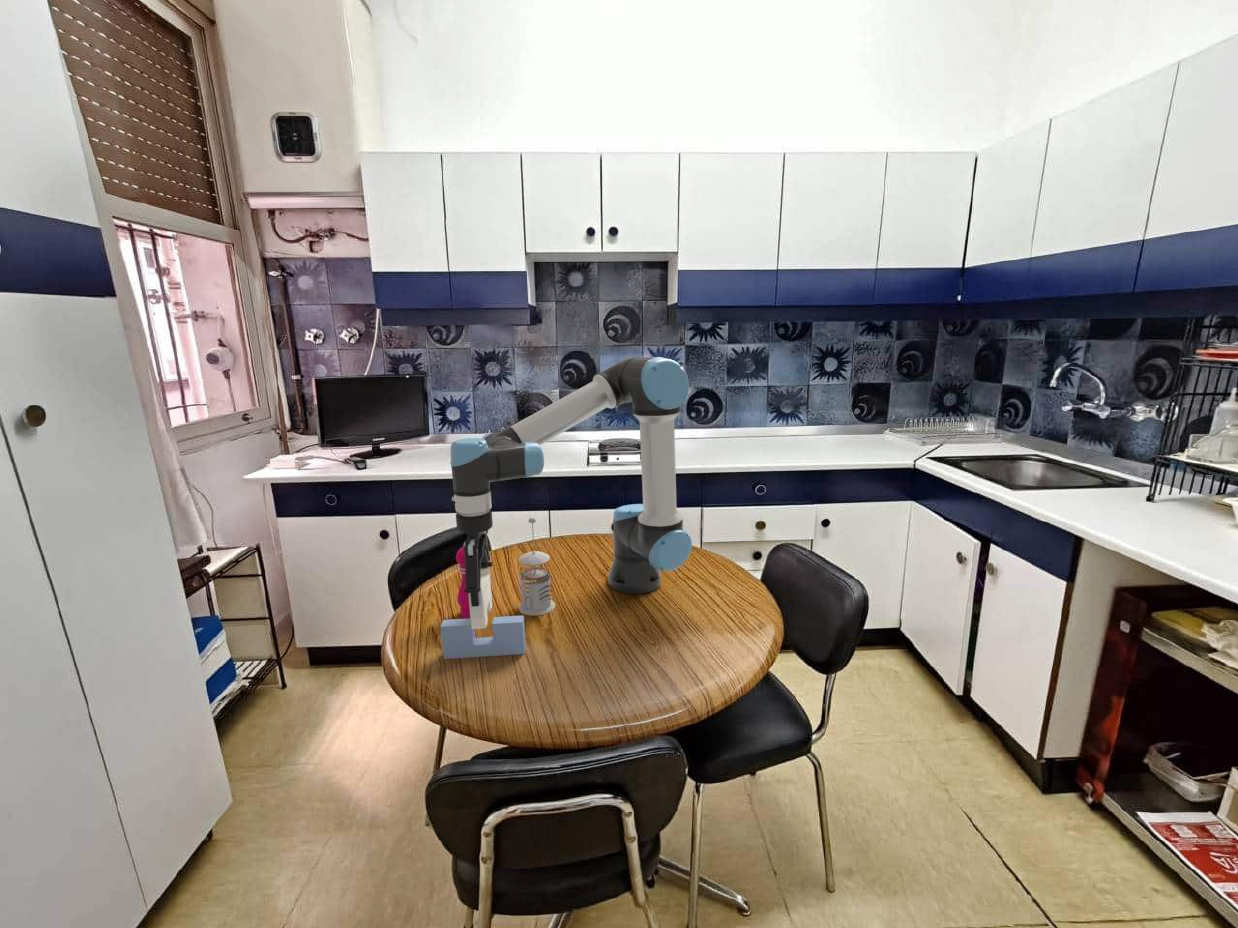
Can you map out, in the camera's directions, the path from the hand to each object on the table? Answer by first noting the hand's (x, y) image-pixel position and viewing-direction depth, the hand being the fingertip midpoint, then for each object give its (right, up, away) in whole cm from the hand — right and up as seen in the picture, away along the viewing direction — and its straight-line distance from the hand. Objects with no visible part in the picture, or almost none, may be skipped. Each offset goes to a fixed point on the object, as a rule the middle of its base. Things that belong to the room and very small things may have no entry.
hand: (481, 605), depth 122 cm
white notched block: (0, -3, +1) cm, 3 cm away
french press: (+8, -7, +23) cm, 25 cm away
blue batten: (0, -11, +3) cm, 12 cm away
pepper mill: (-7, -8, +21) cm, 23 cm away
